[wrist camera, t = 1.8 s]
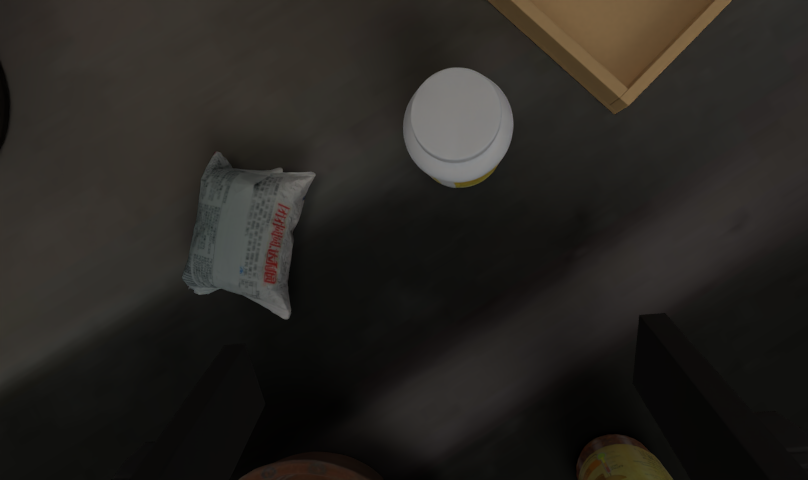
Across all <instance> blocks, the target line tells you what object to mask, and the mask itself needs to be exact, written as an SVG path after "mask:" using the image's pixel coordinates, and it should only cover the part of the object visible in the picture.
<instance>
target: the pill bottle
mask: <svg viewBox="0 0 808 480" xmlns="http://www.w3.org/2000/svg"><path fill="white" fill-rule="evenodd" d="M512 134H513V115H512V110H511V107H510V104H509V102H508V100H507V98H506V96H505V95H504V93H503V92H502V90H501V89H500V88H499V87H498V86H497V85H496V84H495V83H494V82H493V81H491V80H490V79H488V78H487V77H485V76H483V75H482V74H480V73H478V72H476V71H474V70H471V69H467V68H448V69H444V70H442V71H439V72H437V73H435V74H433V75H432V76H430V77H429V78H428V79H427V80H426V81H425V82H424V83H423V84H422V85H421V86H420V87H419V89H418V90H417V91H416V92H415V94H414V95H413V97H412V98H411V100H410V102H409V104H408V106H407V109H406V112H405V115H404V121H403V135H404V141H405V144H406V147H407V150H408V152H409V154H410V156H411V158H412V159H413V161H414V162H415V163H416V164H417V165H418V167H419V168H420V169H421V170H423V171H424V172H425V173H426V174H428V175H429V176H430V177H431V178H433V179H434V180H435V181H437V182H438V183H440V184H442V185H445V186H448V187H452V188H466V187H470V186H474V185H476V184H478V183H480V182H482V181H484V180H485V179H487V178H488V177H489V176H490V175H491V174H492V173H493V171H494V170H495V169H496V167H497V166H498V164H499V163H500V161H501V160H502V158H503V157H504V155H505V154H506V152H507V150H508V148H509V145H510V142H511V139H512Z"/></svg>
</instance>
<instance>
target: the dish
mask: <svg viewBox="0 0 808 480" xmlns="http://www.w3.org/2000/svg"><path fill="white" fill-rule="evenodd" d="M239 480H384V479H383V478H382V477H381V476H380V475H379V474H378V473H377V472H376V471H375V470H374V469H372V468H371V467H369V466H368V465H366V464H364V463H362V462H360V461H358V460H356V459H354V458H352V457H349V456H346V455H341V454H337V453H330V452H306V453H300V454H296V455H292V456H289V457H286V458H283V459H281V460H279V461H277V462H275V463H271V464H268V465H264V466H261V467H259V468H256V469H254V470H252V471H251V472H249V473H248V474H246V475H244V476H243V477H241V478H240V479H239Z"/></svg>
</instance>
